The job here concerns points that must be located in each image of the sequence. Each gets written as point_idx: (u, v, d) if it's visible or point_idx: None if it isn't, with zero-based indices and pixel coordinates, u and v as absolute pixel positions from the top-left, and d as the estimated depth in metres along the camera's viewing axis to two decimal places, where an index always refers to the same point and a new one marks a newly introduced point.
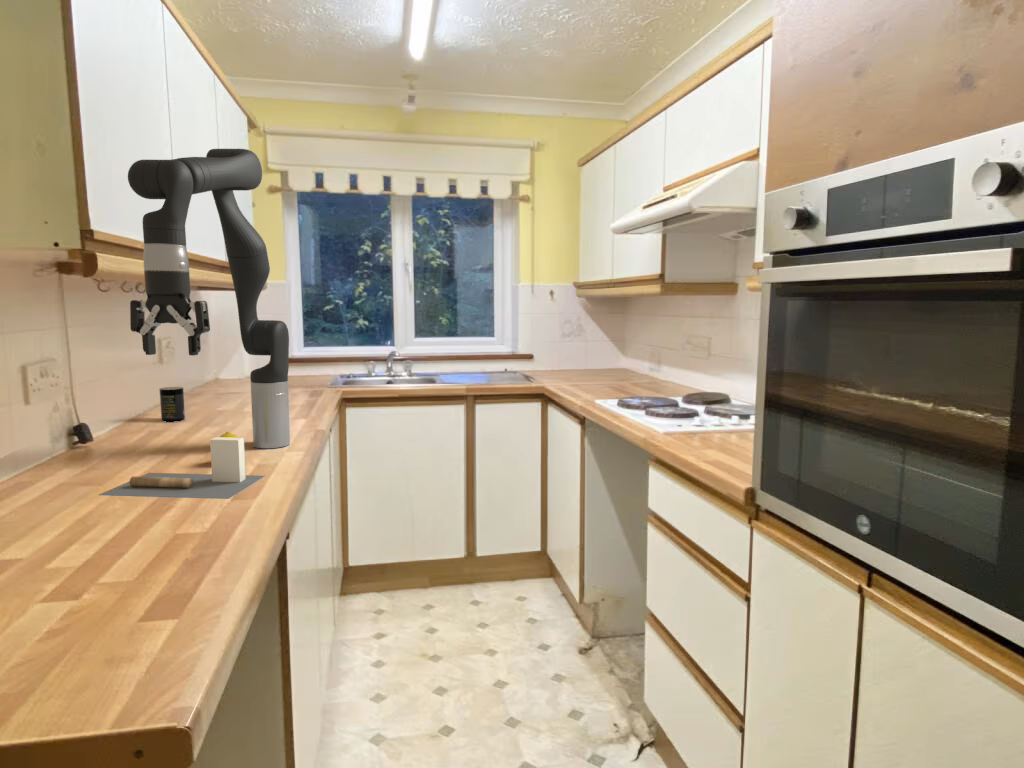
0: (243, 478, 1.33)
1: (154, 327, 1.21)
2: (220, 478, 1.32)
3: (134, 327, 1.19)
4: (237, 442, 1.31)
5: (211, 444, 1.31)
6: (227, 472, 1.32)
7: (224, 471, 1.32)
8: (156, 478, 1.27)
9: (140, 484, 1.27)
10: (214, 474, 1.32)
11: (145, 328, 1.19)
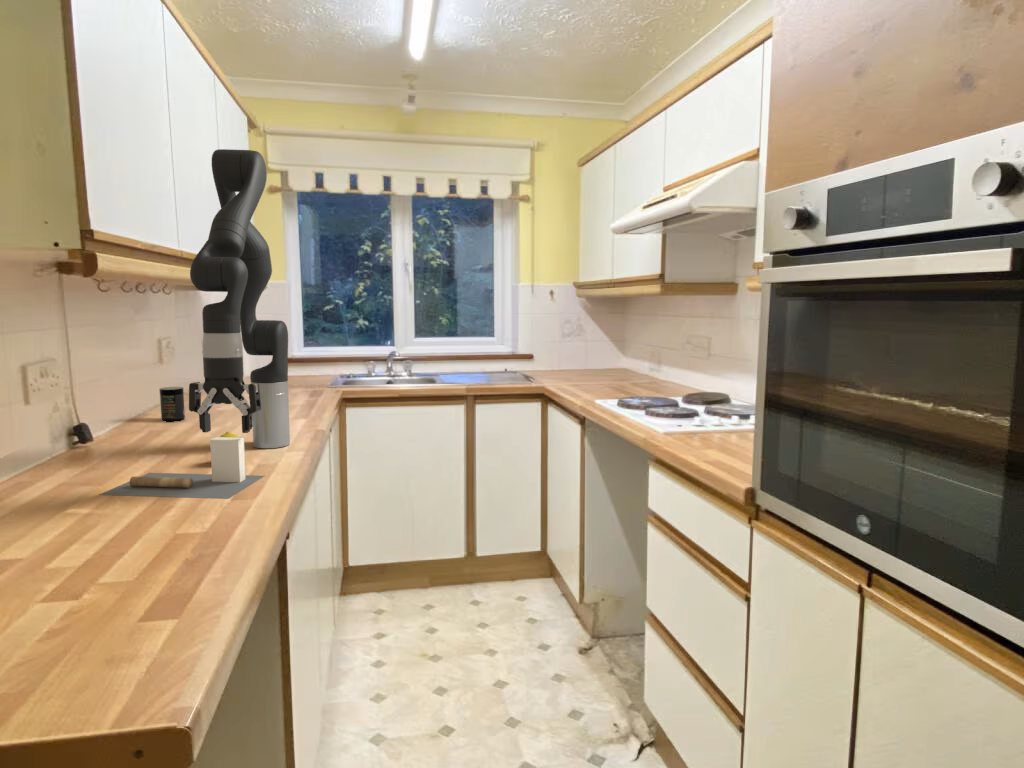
0: (243, 478, 1.33)
1: (210, 406, 1.32)
2: (220, 478, 1.32)
3: (192, 407, 1.30)
4: (237, 442, 1.31)
5: (211, 444, 1.31)
6: (227, 472, 1.32)
7: (224, 471, 1.32)
8: (156, 478, 1.27)
9: (140, 484, 1.27)
10: (214, 474, 1.32)
11: (202, 408, 1.30)
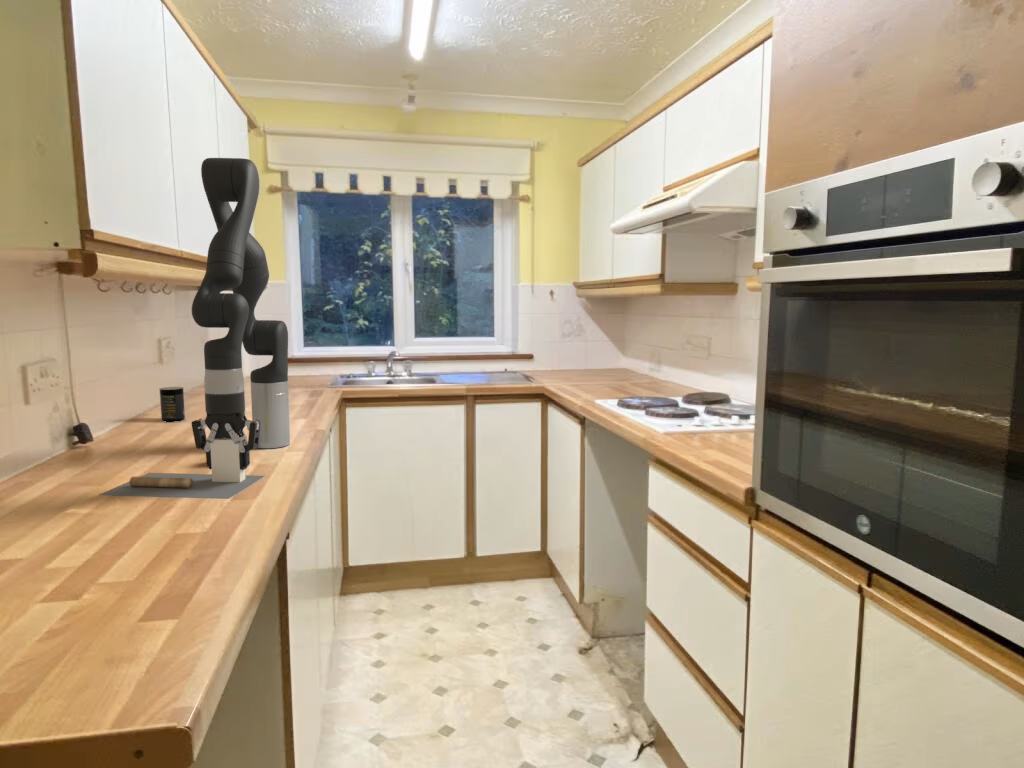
0: (243, 478, 1.33)
1: None
2: (220, 478, 1.32)
3: (199, 445, 1.31)
4: None
5: (211, 444, 1.31)
6: (227, 472, 1.32)
7: (224, 471, 1.32)
8: (156, 478, 1.27)
9: (140, 484, 1.27)
10: (214, 474, 1.32)
11: (208, 445, 1.31)
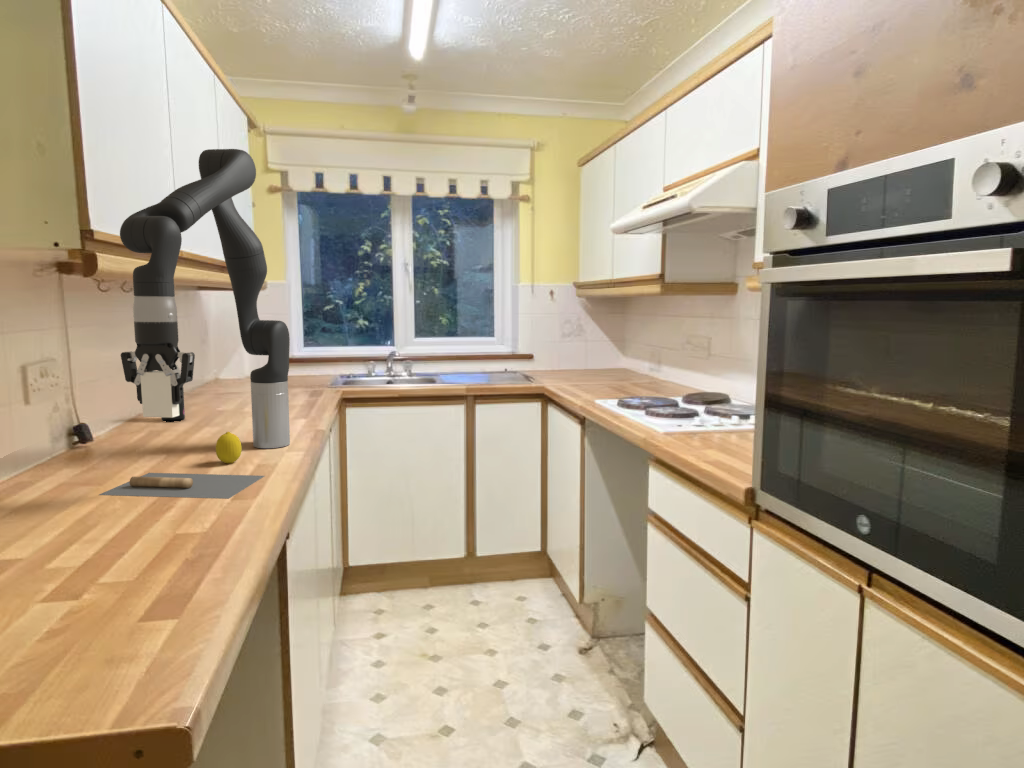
0: (176, 414, 1.27)
1: None
2: (151, 413, 1.25)
3: (129, 378, 1.24)
4: None
5: (141, 377, 1.24)
6: (159, 407, 1.25)
7: (155, 406, 1.25)
8: (156, 478, 1.27)
9: (140, 484, 1.27)
10: (145, 409, 1.25)
11: (138, 378, 1.24)
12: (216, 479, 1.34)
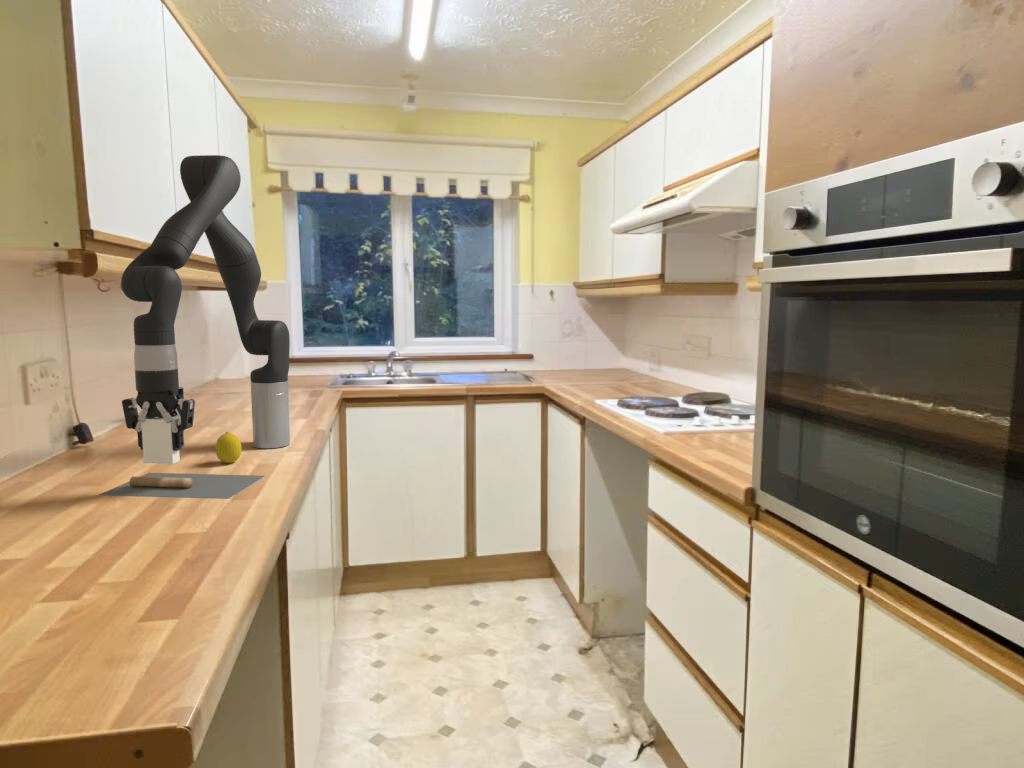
0: (177, 460, 1.28)
1: None
2: (152, 459, 1.26)
3: (130, 424, 1.26)
4: None
5: (142, 424, 1.26)
6: (159, 453, 1.26)
7: (156, 452, 1.26)
8: (156, 478, 1.27)
9: (140, 484, 1.27)
10: (146, 455, 1.26)
11: (139, 425, 1.26)
12: (216, 479, 1.34)
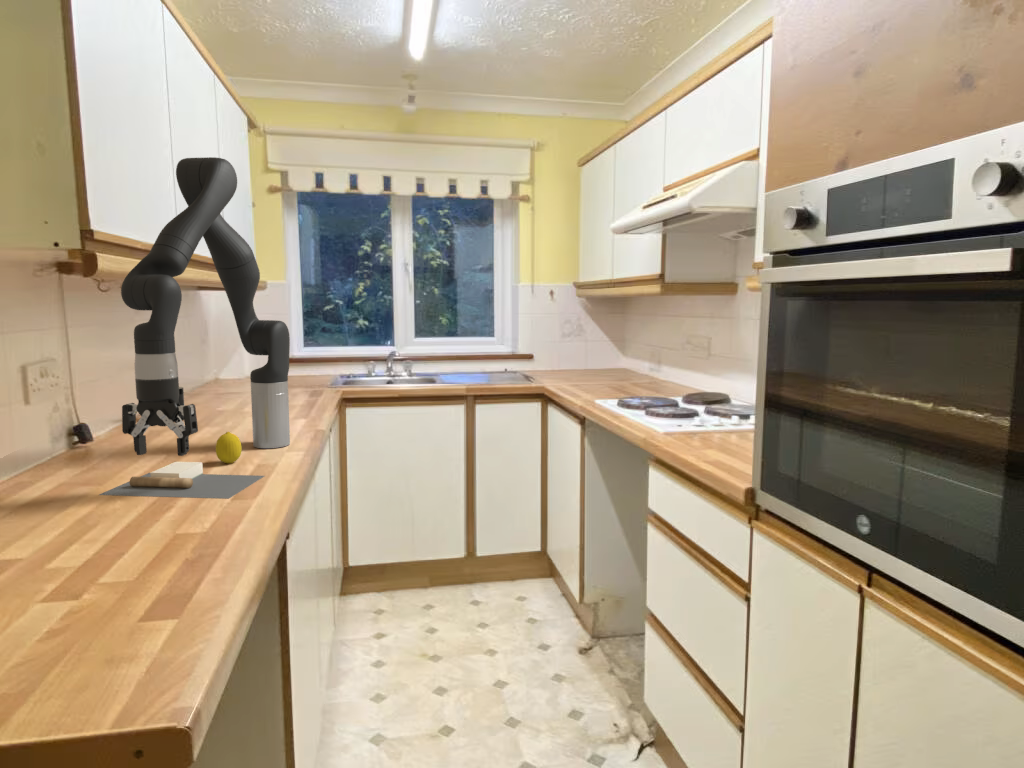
0: None
1: (145, 428, 1.28)
2: (161, 472, 1.30)
3: (126, 430, 1.26)
4: (200, 462, 1.37)
5: (174, 462, 1.37)
6: (172, 470, 1.31)
7: (169, 470, 1.31)
8: (156, 478, 1.27)
9: (140, 484, 1.27)
10: (158, 470, 1.31)
11: (136, 430, 1.26)
12: (216, 479, 1.34)
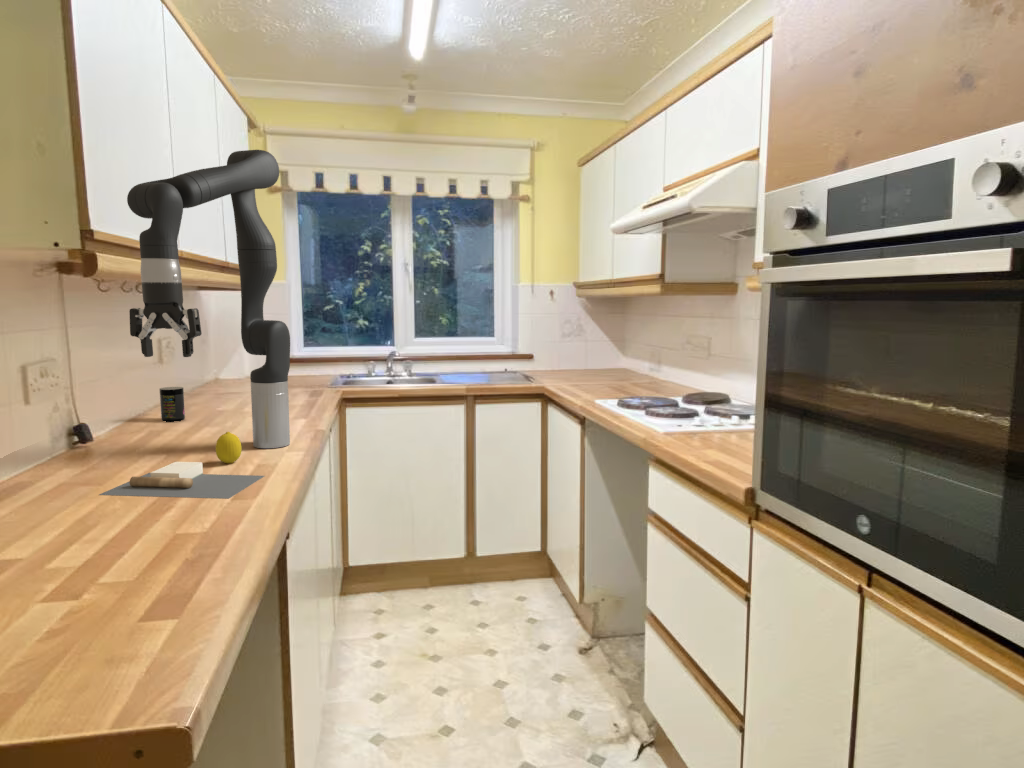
0: None
1: (151, 332, 1.36)
2: (161, 472, 1.30)
3: (133, 332, 1.34)
4: (200, 462, 1.37)
5: (174, 462, 1.37)
6: (172, 470, 1.31)
7: (169, 470, 1.31)
8: (156, 478, 1.27)
9: (140, 484, 1.27)
10: (158, 470, 1.31)
11: (143, 333, 1.34)
12: (216, 479, 1.34)
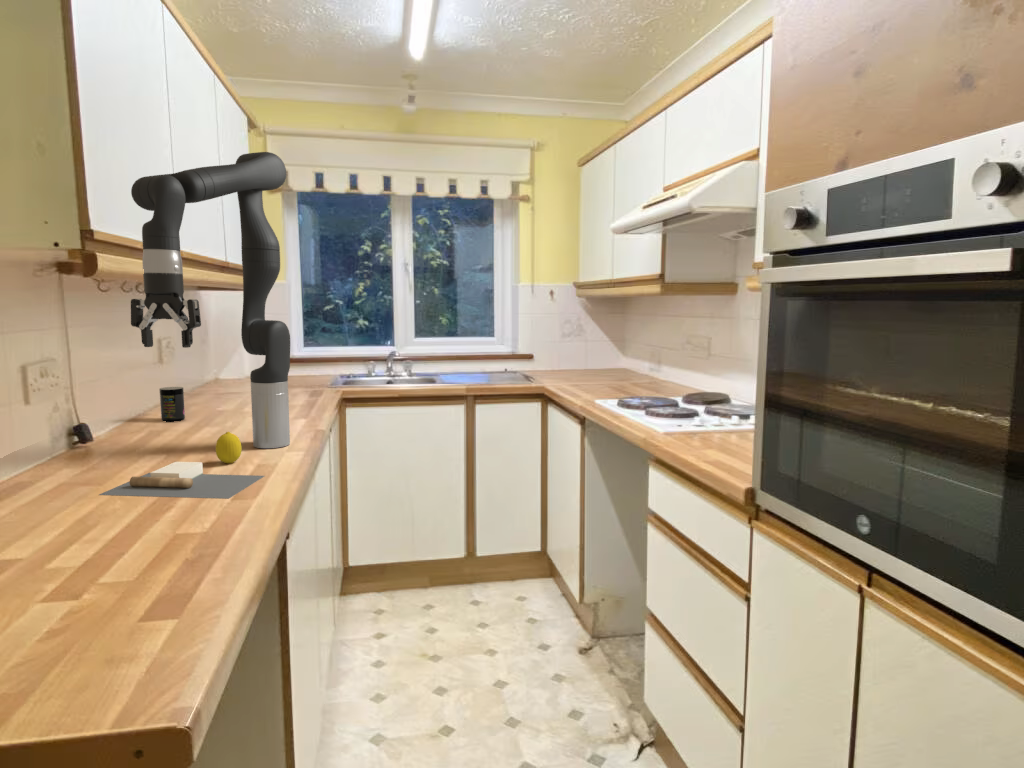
0: None
1: (152, 323, 1.38)
2: (161, 472, 1.30)
3: (134, 322, 1.36)
4: (200, 462, 1.37)
5: (174, 462, 1.37)
6: (172, 470, 1.31)
7: (169, 470, 1.31)
8: (156, 478, 1.27)
9: (140, 484, 1.27)
10: (158, 470, 1.31)
11: (143, 323, 1.36)
12: (216, 479, 1.34)
